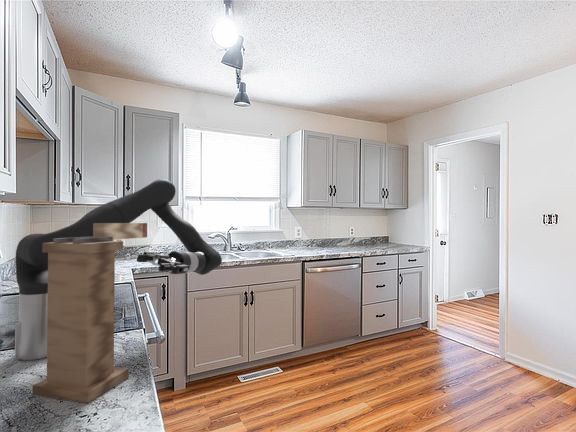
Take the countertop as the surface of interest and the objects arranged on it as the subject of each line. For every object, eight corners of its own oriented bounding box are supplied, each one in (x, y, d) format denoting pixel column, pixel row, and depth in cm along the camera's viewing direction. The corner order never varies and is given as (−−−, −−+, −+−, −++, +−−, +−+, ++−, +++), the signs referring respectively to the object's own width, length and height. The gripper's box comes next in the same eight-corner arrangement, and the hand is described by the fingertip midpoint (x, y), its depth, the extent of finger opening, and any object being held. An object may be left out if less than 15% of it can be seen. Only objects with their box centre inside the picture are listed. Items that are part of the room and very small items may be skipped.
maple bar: (137, 237, 97) (137, 223, 97) (147, 237, 96) (147, 223, 96) (93, 240, 81) (93, 223, 81) (103, 240, 80) (103, 223, 80)
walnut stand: (79, 370, 84) (80, 236, 84) (128, 376, 80) (129, 236, 81) (32, 395, 72) (34, 238, 73) (87, 403, 69) (89, 239, 69)
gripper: (169, 245, 119) (134, 243, 104) (202, 258, 114) (171, 258, 99) (162, 266, 119) (127, 267, 103) (195, 280, 114) (163, 283, 99)
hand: (149, 262), depth 101 cm, fingers open, 8 cm apart
